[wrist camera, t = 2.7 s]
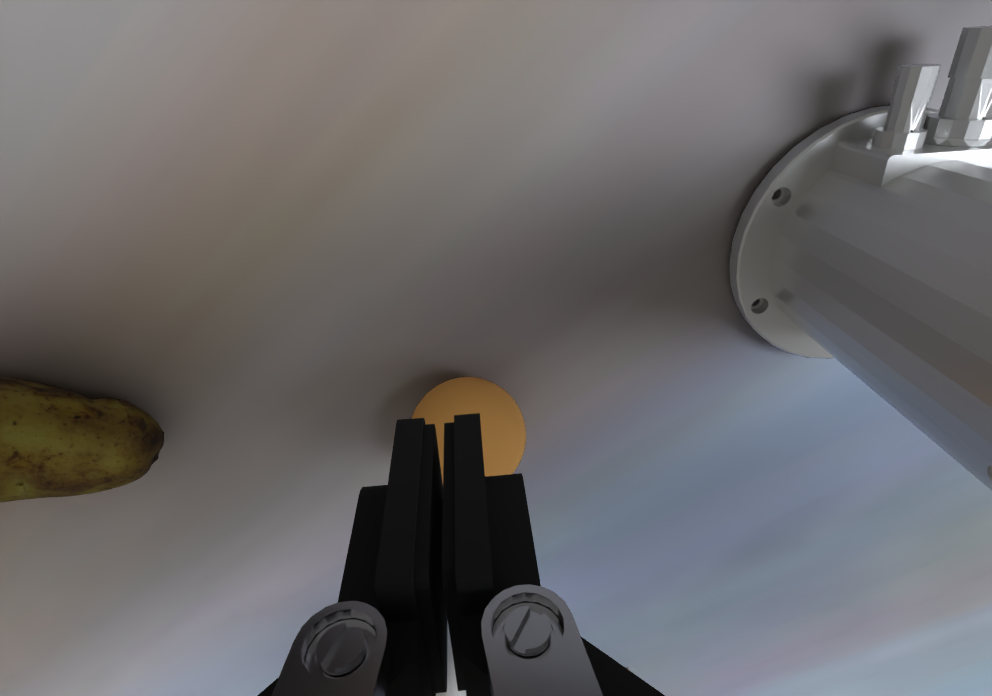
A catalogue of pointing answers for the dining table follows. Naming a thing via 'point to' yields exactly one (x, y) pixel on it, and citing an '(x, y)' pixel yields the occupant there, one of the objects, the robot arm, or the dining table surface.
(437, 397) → the ball
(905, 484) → the dining table surface
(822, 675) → the dining table surface
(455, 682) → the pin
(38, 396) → the potato
